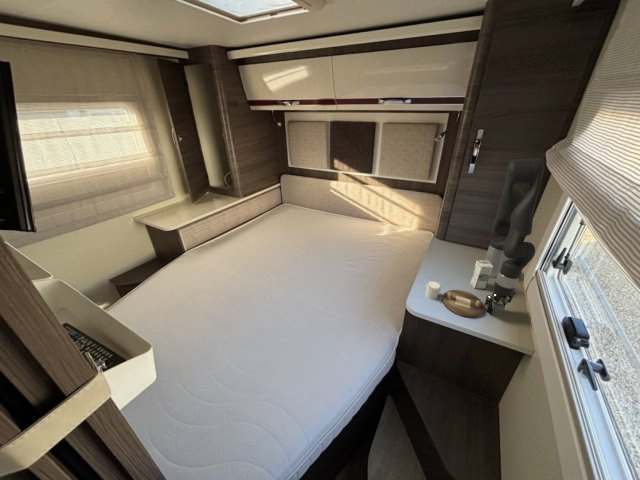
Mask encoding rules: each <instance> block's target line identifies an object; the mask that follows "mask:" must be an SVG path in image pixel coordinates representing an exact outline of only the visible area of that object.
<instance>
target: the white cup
mask: <svg viewBox="0 0 640 480" xmlns="http://www.w3.org/2000/svg"><path fill="white" fill-rule="evenodd" d="M441 289H442V284H441V283H440V282H438V281H436V280H428V281H427V282H426V288H425V296H426V298H428V299H430V300H436V299H438V297H439V294H440V292H441Z"/></svg>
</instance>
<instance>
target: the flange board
mask: <svg viewBox="0 0 640 480" xmlns="http://www.w3.org/2000/svg"><path fill="white" fill-rule="evenodd" d="M441 300H442V304H443V306H444V307H445V308H446V309H447V310H448V311H449V312H451V313H452V314H454V315H457V316H459V317H463V318H466V319H467V318H469V319H472V318H474V319H475V318H478V317H480V316H482V315H483V313H484V311H485V304H484V303H483V302H482V300H481V299H480V298H478V297H477V295H475V294H473V293H471V292H468V291H466V290H461V289H450V290H447V291H446V292H444V293H443V295H442V299H441Z"/></svg>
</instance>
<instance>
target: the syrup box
mask: <svg viewBox="0 0 640 480" xmlns="http://www.w3.org/2000/svg"><path fill="white" fill-rule="evenodd" d="M492 270H493V266H492V264H491V263H490V262H489V261H485V260H476V262H475V265H474V268H473V271H472V273H471V277H470V280H469V283H470V285H471V286H472V287H473V289H477V290H478V289H479V290H480V289H481V290H482V289H483V290H485V289H486V288H487V285H488V283H489V280H490V275H491V272H492Z"/></svg>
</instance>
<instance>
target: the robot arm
mask: <svg viewBox="0 0 640 480" xmlns="http://www.w3.org/2000/svg"><path fill="white" fill-rule="evenodd" d="M544 166H545V165H544V160H543V159H542V158H538V157H537V158H523V159H521V158H520V159H514V160H511V161H510V163H509V164H508V166H507V170H506V176H505V181H504V185H503V190H502V193H501V197H500V199H499V204H498V208H497V213H496V216H495V218H494V221H493V223H492V226H491V232H492V233H493V234H495V235H497V236H502V237H494V238H493V239H491V240H490V243H489V245H488V250H487V252H486V255H485V258H484V261H489V262H490V263H491V264H492V266H493V270H492V272H491V275H490V277H491V278H496V279H495V281H494V284H493V287H492V288H493V291H494V292H492V294H491V295H489V294H488V295H486V298H485V302H484V306H486V312H487V313H488V314H489V315H493V314H492V311H493V309H494V307H495V305H498V304H499V302H500V301H502V302H503V304H504V307H505V308H506V305H508V303H509V304H510V303H511V302H512V300H513V298H514V296H515V295H516V292H515V289H516V287H517V284H518V282H519V278H520V276H521V273H522V271H523V269H524V268H525V267H526V266H528V264H529V263H530V262H531V261H532V260H533V258H534V256H535V253H536V247H535V245H534V243H532V242H529V241H520V239H521V238H524V237H528V236H530V235H531V234H532V232H533V231H532V230H533V220H534V215H535V214H534V212H535V207H536V204H537V199H538V196H539V193H540V188H541V184H542V181H543V177H544V176H543V175H544V168H545V167H544ZM517 184H529V188H528V190H527V192H526V194H525V193H524V192H523V191H522V189H520V188H519V187H518V186H517ZM493 299H494V300H495V301H497V302H495V301H494V300H493ZM492 302H493V303H494V304H493V305H492ZM487 307H488V308H487Z"/></svg>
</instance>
